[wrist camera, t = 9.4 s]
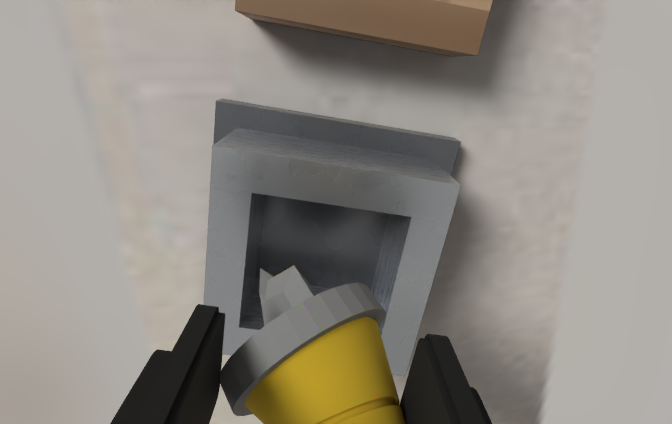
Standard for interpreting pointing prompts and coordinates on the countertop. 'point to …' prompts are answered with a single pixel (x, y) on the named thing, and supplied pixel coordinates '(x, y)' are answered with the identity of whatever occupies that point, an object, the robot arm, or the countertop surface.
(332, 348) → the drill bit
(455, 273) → the countertop surface
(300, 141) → the grey hollow square block
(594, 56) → the countertop surface
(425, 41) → the socket block
